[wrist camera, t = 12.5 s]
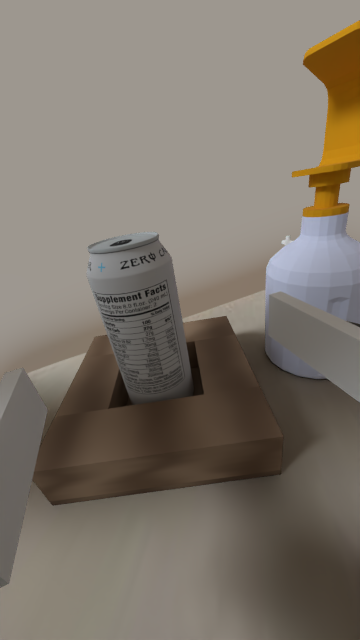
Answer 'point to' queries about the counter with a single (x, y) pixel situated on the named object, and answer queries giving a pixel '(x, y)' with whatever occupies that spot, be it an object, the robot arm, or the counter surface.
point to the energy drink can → (141, 315)
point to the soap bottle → (325, 205)
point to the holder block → (160, 426)
